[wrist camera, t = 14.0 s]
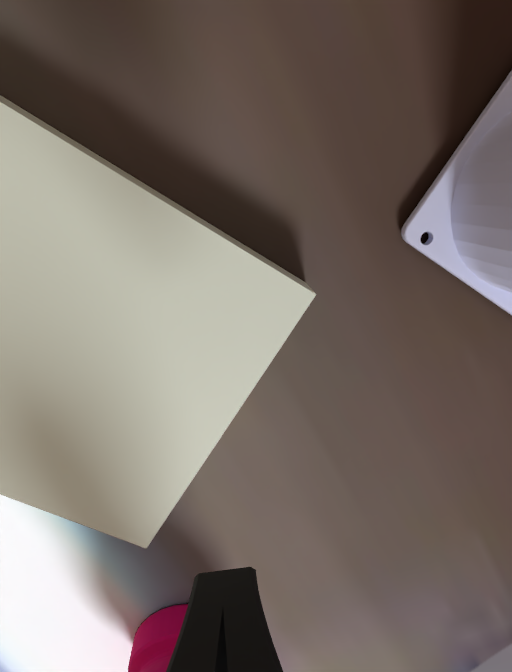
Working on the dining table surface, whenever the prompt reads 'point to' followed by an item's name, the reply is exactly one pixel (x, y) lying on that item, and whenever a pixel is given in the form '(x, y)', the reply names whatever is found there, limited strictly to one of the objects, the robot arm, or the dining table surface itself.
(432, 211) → the robot arm
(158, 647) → the pepper mill
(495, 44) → the dining table surface
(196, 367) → the board
